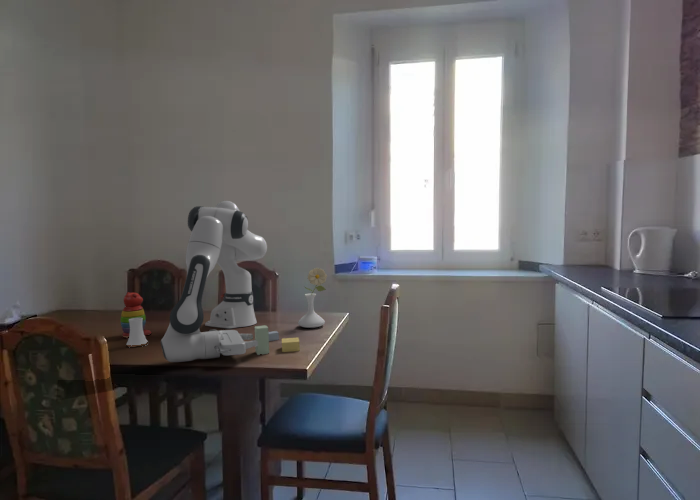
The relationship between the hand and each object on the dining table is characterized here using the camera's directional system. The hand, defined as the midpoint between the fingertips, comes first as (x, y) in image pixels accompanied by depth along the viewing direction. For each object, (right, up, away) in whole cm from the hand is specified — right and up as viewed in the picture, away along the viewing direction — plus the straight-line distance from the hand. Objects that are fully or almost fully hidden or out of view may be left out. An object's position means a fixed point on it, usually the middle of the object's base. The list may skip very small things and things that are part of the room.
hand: (255, 339), depth 168 cm
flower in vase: (+17, -2, +38) cm, 42 cm away
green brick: (+2, -5, +1) cm, 5 cm away
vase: (-48, -5, +16) cm, 51 cm away
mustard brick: (+12, -4, +5) cm, 13 cm away
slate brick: (+2, -4, +18) cm, 19 cm away
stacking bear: (-55, -4, +32) cm, 64 cm away
